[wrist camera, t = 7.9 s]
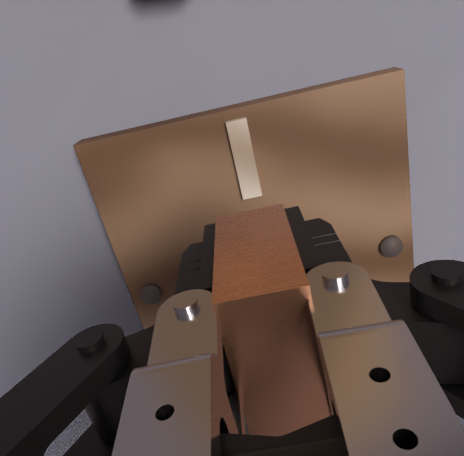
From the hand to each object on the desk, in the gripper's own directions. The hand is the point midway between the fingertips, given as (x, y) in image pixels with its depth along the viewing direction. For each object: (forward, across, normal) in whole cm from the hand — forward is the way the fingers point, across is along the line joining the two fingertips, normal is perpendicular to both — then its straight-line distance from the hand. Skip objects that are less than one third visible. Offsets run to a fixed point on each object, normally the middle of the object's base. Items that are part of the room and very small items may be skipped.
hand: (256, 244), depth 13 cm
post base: (+11, 0, +6) cm, 12 cm away
